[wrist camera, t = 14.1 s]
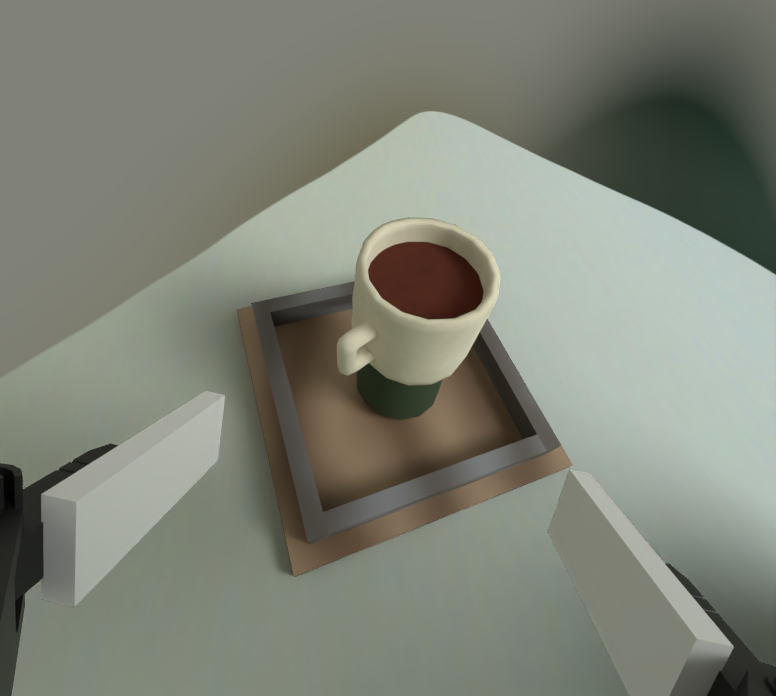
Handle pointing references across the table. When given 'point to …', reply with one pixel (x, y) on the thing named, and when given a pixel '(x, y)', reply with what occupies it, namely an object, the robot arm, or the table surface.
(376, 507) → the mug dock
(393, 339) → the character mug
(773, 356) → the table surface
